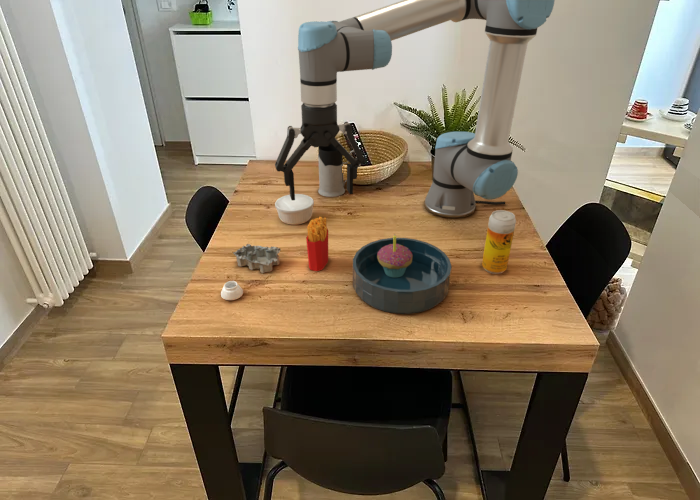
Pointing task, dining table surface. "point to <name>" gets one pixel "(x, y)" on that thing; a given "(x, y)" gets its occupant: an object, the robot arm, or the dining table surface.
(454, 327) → the dining table surface
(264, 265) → the egg carton
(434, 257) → the bowl
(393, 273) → the cupcake
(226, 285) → the lidless jar
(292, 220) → the ramekin
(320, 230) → the french fries
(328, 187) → the glass holder
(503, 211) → the beer can
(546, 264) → the dining table surface
